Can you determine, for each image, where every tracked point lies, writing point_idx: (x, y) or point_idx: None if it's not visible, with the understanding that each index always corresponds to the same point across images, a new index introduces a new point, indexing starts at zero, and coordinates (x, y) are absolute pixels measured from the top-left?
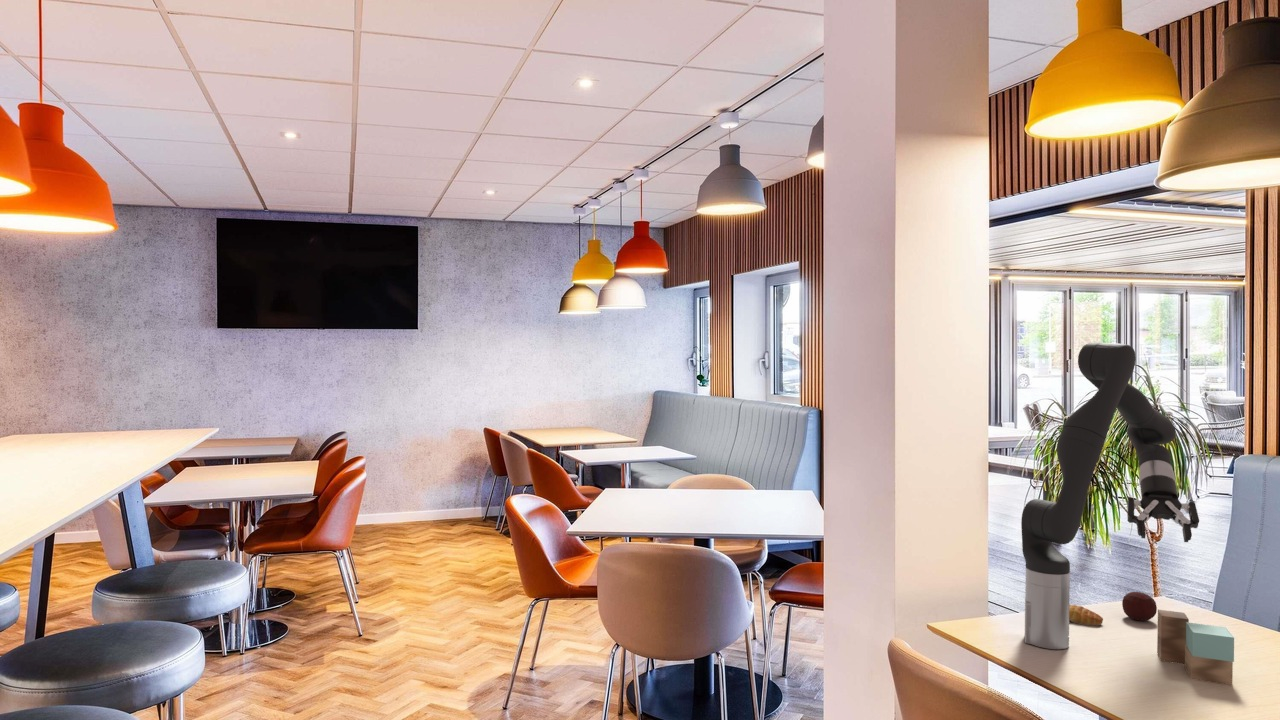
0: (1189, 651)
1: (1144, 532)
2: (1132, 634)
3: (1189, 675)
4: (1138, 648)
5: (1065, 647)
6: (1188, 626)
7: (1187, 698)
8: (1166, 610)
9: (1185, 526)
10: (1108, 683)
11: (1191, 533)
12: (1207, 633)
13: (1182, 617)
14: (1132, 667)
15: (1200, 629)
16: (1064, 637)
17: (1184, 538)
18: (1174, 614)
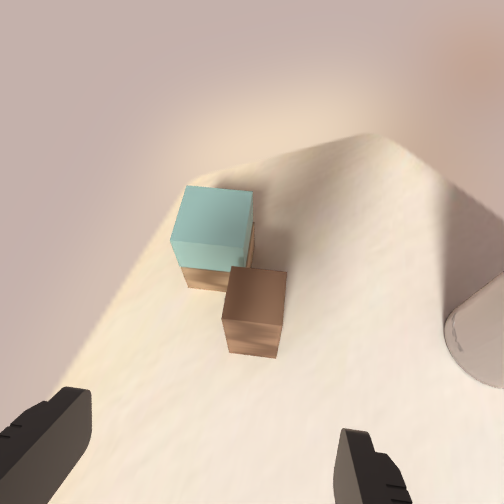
0: (250, 241)
1: (353, 433)
2: (302, 501)
3: (252, 256)
4: (308, 378)
5: (449, 315)
6: (246, 229)
7: (282, 179)
8: (262, 323)
9: (1, 463)
10: (375, 193)
11: (12, 423)
12: (227, 192)
13: (241, 274)
14: (335, 264)
15: (231, 210)
16: (462, 304)
17: (79, 434)
18: (252, 293)
